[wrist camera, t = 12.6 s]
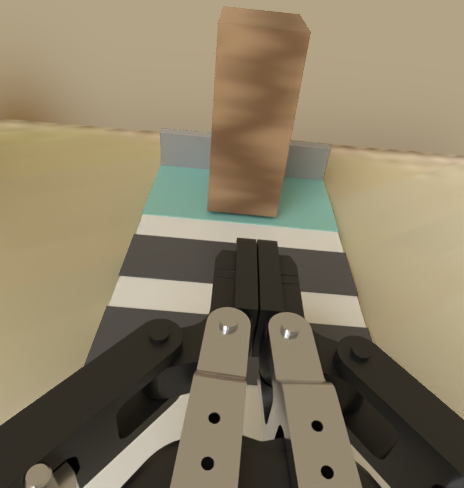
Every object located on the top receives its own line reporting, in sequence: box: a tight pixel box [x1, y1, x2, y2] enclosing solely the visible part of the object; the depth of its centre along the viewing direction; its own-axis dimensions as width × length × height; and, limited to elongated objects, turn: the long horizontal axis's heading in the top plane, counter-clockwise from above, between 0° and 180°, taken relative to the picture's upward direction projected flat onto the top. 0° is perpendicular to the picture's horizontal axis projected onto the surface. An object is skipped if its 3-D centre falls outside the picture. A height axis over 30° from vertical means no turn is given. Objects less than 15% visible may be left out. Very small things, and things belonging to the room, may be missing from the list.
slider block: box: [207, 6, 311, 217], centre depth 28 cm, size 5×6×12 cm
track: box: [83, 128, 391, 488], centre depth 23 cm, size 14×32×4 cm, turn 178°
